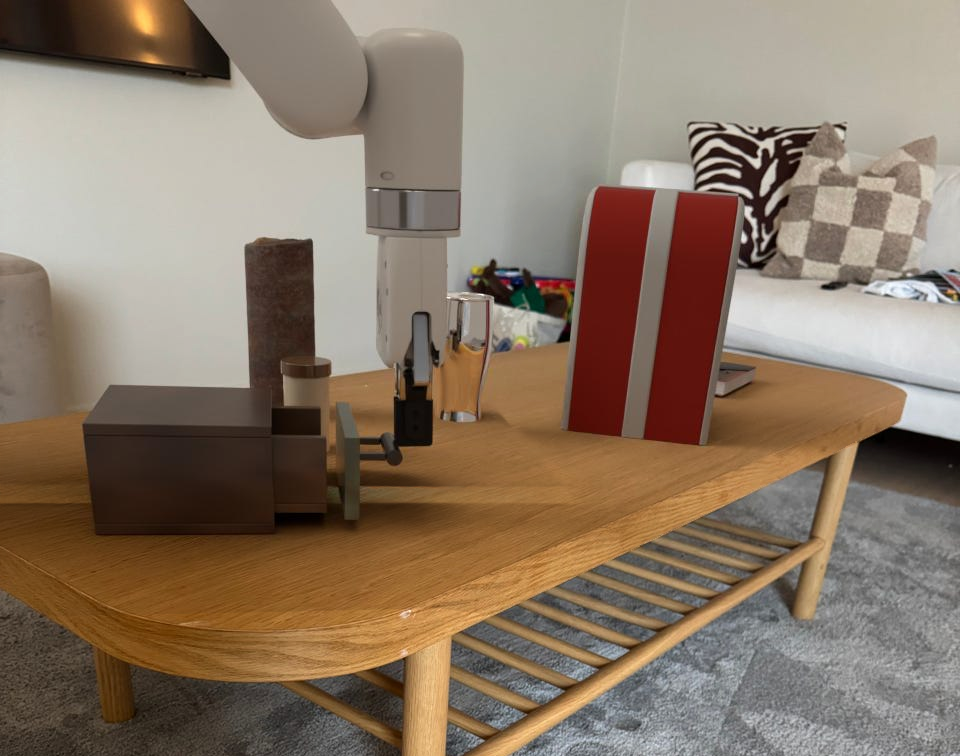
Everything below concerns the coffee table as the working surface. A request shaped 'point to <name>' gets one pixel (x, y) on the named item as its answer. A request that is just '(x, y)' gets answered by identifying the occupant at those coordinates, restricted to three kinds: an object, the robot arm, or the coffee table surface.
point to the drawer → (320, 459)
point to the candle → (278, 308)
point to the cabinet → (181, 460)
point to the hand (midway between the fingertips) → (413, 443)
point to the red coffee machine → (651, 311)
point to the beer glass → (465, 357)
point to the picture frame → (733, 377)
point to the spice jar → (308, 386)
